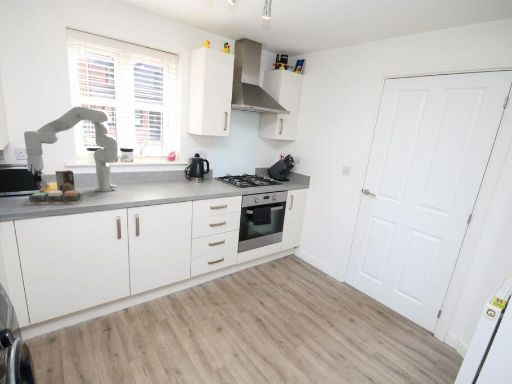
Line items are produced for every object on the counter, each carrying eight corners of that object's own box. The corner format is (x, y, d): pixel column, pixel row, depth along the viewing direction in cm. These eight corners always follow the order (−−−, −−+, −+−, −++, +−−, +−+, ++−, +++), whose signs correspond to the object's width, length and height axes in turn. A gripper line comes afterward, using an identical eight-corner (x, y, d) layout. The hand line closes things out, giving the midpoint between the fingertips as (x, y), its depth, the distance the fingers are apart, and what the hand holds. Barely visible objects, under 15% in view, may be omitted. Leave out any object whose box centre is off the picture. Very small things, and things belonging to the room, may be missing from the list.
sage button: (47, 197, 169) (46, 192, 168) (43, 200, 163) (43, 195, 163) (36, 198, 167) (35, 192, 166) (32, 200, 161) (31, 195, 161)
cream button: (62, 195, 171) (62, 190, 171) (59, 198, 166) (59, 192, 165) (52, 195, 169) (51, 190, 169) (48, 198, 164) (48, 193, 163)
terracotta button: (78, 195, 174) (77, 190, 173) (75, 198, 169) (75, 192, 168) (67, 195, 172) (67, 190, 171) (64, 198, 167) (64, 192, 166)
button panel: (83, 198, 178) (82, 192, 177) (78, 203, 168) (77, 196, 167) (34, 199, 169) (33, 192, 168) (26, 204, 159) (25, 197, 158)
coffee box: (72, 191, 192) (70, 170, 188) (75, 193, 188) (73, 171, 184) (57, 193, 185) (55, 171, 181) (60, 195, 181) (58, 172, 177)
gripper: (32, 150, 164) (36, 179, 168) (20, 153, 150) (25, 184, 155) (46, 151, 166) (50, 179, 171) (36, 154, 153) (40, 184, 157)
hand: (38, 181), depth 163 cm, fingers closed
